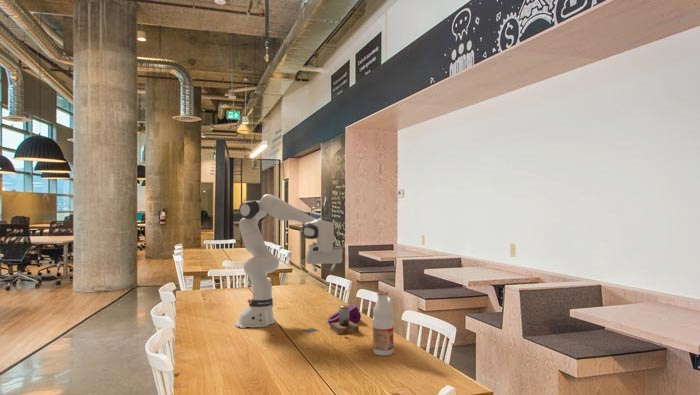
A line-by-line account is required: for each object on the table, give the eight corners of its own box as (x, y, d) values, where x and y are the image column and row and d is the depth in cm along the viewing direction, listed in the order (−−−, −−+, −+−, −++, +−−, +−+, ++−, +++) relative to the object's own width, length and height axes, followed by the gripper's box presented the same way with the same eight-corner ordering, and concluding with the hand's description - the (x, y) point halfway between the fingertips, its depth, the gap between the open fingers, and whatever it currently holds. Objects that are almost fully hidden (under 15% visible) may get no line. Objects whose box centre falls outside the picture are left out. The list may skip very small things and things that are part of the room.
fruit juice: (370, 350, 212) (370, 290, 213) (389, 348, 214) (389, 289, 215) (376, 357, 203) (375, 294, 203) (396, 355, 205) (395, 293, 206)
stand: (337, 334, 239) (337, 328, 239) (330, 328, 250) (330, 323, 250) (358, 331, 243) (358, 326, 243) (350, 326, 254) (350, 320, 254)
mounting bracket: (336, 335, 257) (363, 319, 262) (329, 322, 256) (356, 306, 261) (331, 331, 266) (358, 315, 271) (325, 318, 265) (352, 303, 270)
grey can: (341, 326, 243) (341, 307, 243) (337, 323, 248) (337, 305, 248) (350, 325, 245) (350, 306, 245) (347, 322, 250) (347, 304, 250)
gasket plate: (308, 334, 242) (308, 333, 242) (301, 331, 247) (301, 330, 248) (319, 331, 246) (319, 330, 246) (312, 329, 252) (312, 328, 252)
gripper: (341, 245, 255) (340, 269, 257) (305, 245, 250) (304, 269, 251) (344, 248, 249) (343, 272, 251) (308, 248, 244) (306, 273, 245)
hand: (323, 271), depth 251 cm, fingers open, 8 cm apart
